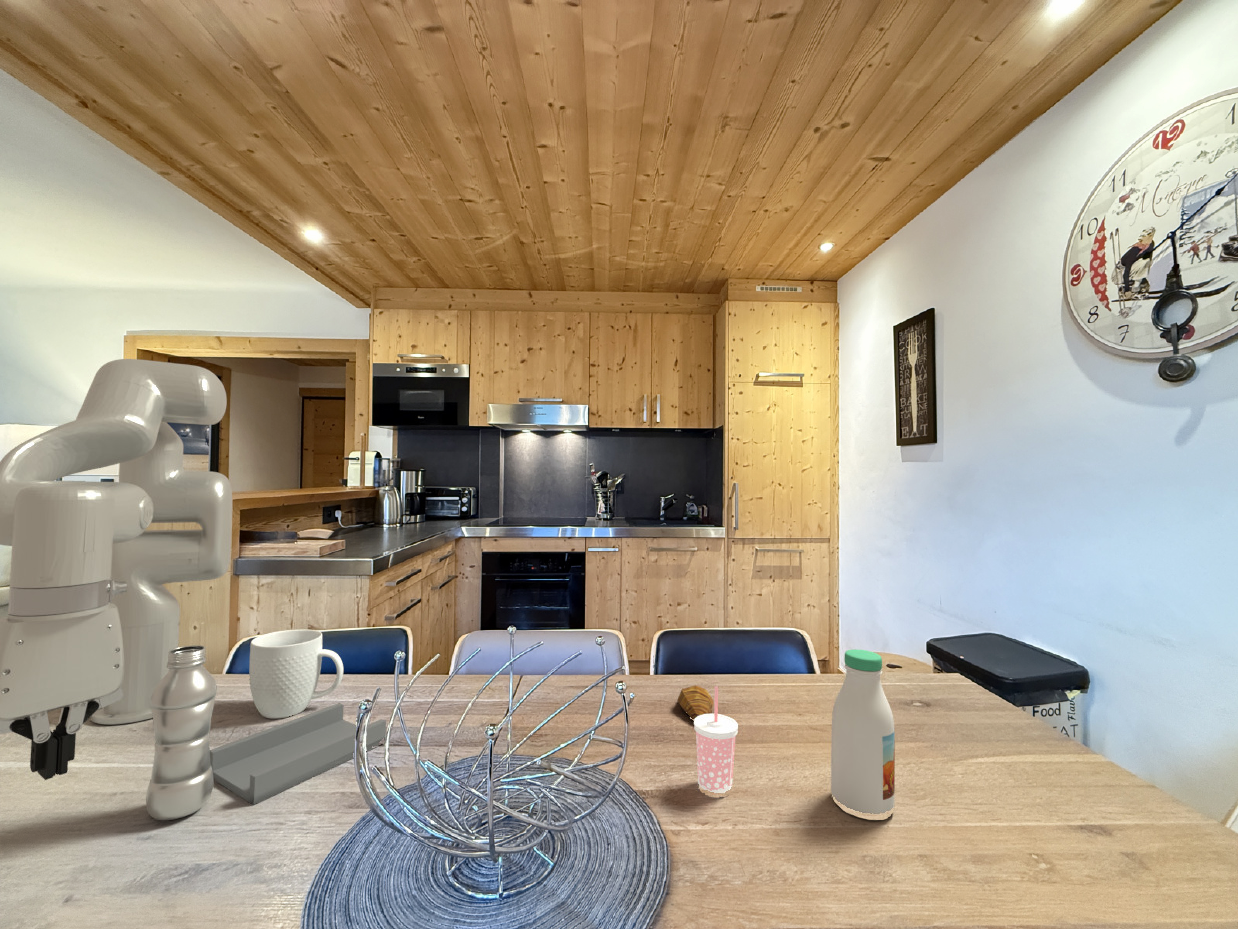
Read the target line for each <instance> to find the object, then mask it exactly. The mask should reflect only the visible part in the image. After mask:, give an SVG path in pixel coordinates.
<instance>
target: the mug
mask: <svg viewBox="0 0 1238 929" xmlns="http://www.w3.org/2000/svg"><path fill="white" fill-rule="evenodd" d="M249 647H250V650H249V651H250V652H249V663H248V664H249V671H248V672H249V675H248V676H249V689H250V693H251V697H252V701H253V703H254V705H255V708H256V709H257V710H258V712H259V714H260V715H261V716H262V717H264V718H267V719H272V720H273V719H274V720H276V719H277V720H278V719H283V718H290V717H292V715H293V716H295V715H298V714H300V713H302V712H303V711H305V709H306V708H307V707H308V706H309V704H310V702H311V700H315V699H318V698H322V697H325V696H327V695H330V694H331V693H333V692H335V690H336V689H338V687H339V686H340V684H341V682H342V680H343V678H344V677H343V676H344V664H343V661H342V658H341V657H340V656H339V654H338V653H337V652H336V651H333V650H331V649H325V648H324V649H323V633H322V632H321V631H319V630H316V629H305V628H304V629H287V630H278V631H272V632H268V633H264V634H262V635H259V636H256V637H254V638H253V639H252V640H251V641H250V646H249ZM323 657H326V658H330V659H332V661H333V663H334V664H335V667H336V668H335V669H336V678H335V680H334V682H333V684H332V685H331V686H330V687H328V688H327V689H325V690H321V691H316V690H317V687H318V683H319V681H320V680H319V679H320V676H321V669H322V661H323V659H322V658H323ZM289 716H290V717H289Z"/></svg>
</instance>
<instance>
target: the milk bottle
mask: <svg viewBox="0 0 1238 929" xmlns="http://www.w3.org/2000/svg"><path fill="white" fill-rule="evenodd" d="M844 668H845V670H846V671H845V672H846V673H845V677H844V680H843V683H842V685H841V688H840V690H839V691H838V693H837V695H836V697H835V700H834V702H833V707H832V717H831V737H830V738H831V741H830V742H831V744H830V748H831V749H830V753H831V754H830V756H831V757H830V794H831V793H832V795H833V797H835V799H836V800H837V801H838V802H840V803H841V804H843V805H845V806H846V807H847V808H850V809H853V810H855V811H859V812H862V813H870V814H872V813H873V814H880V813H885V812H886V811H890V810H891V809H892V808H893V807H894V808H895V791H896V790H895V786H896V785H895V780H896V779H895V768H896V766H895V765H896V764H895V763H896V761H895V760H896V759H895V756H896V755H895V752H896V750H895V747H896V745H895V743H896V739H895V723H894V722H895V721H894V715H893V712H892V709H891V706H890V703H889V701H888V698H887V697H886V694H885V692H884V689H883V686H882V682H881V675H882V674H883V670H882V669H883V658H882V656H881V655H880V654H878V653H876V652H873V651H870V650H866V649H848V650H846V651H845V652H844Z"/></svg>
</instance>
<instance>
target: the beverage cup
mask: <svg viewBox="0 0 1238 929" xmlns="http://www.w3.org/2000/svg"><path fill="white" fill-rule="evenodd" d="M713 706H714V711H713V712H714V713H711V714H703V715H700V716H698V717H696V718H695V719H694V722H693V725H694V726H693V727H694V728H693V729H694V731H695V737H696V740H695V741H696V743H695V744H696V762H697V764H696V765H697V766H696V767H697V785H698V784H699V785H700V787H702V788H703V789H704V790H708V791H710V792H714V793H725V792H726V791H728V790H730V789H731V787H732V788H733V777H734V765H735V764H734V762H735V751H736V750H735V748H736V739H737V738H736V737H737V734H738V732H739V731H738V730H739V724H738V722H737V721H736V720H735V719H734V718H733V717H729V716H727V715H724V714H720V713H718V711H719V709H718V708H719V686H718V685H715V686H714V701H713Z"/></svg>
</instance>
